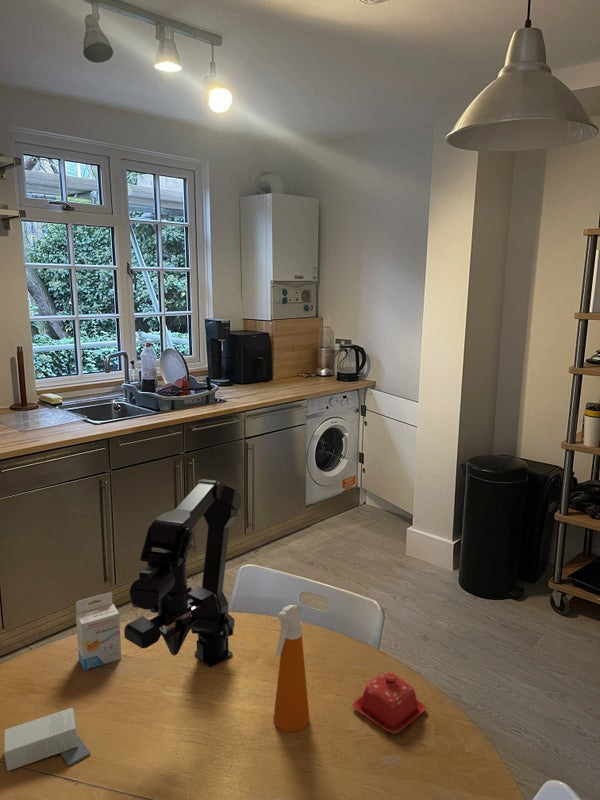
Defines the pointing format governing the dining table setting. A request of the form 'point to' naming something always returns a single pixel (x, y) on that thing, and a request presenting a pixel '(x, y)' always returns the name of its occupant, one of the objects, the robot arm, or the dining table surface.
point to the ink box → (98, 631)
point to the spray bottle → (291, 674)
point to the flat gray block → (75, 753)
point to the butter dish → (389, 702)
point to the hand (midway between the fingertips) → (174, 654)
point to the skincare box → (40, 738)
